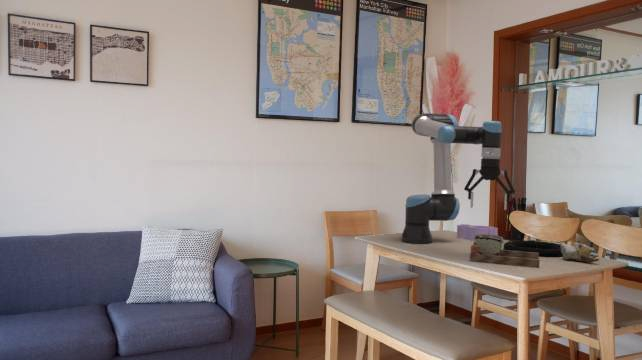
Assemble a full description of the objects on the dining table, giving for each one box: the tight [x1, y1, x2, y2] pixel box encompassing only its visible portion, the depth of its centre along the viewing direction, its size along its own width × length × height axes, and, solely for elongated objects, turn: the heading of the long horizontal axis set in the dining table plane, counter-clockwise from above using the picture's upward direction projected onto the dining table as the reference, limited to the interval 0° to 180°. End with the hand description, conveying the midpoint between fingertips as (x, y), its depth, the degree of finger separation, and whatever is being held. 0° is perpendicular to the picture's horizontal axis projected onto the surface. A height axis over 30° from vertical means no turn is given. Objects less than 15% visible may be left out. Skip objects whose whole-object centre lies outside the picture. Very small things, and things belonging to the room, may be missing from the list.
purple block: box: [456, 223, 499, 242], centre depth 273 cm, size 20×12×7 cm, turn 49°
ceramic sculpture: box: [559, 240, 600, 263], centre depth 219 cm, size 11×9×15 cm
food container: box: [474, 234, 505, 256], centre depth 217 cm, size 12×6×10 cm, turn 48°
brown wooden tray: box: [469, 241, 540, 268], centre depth 215 cm, size 26×17×6 cm
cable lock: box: [503, 239, 563, 258], centre depth 239 cm, size 28×4×30 cm
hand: (488, 208), depth 220 cm, fingers open, 13 cm apart
